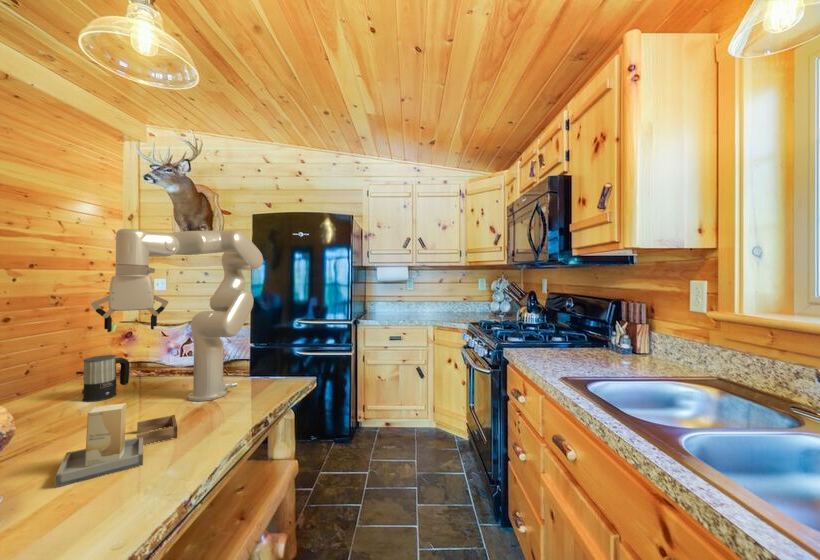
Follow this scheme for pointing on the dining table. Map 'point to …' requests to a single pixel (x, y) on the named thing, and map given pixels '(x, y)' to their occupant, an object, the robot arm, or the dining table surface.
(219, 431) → the dining table surface
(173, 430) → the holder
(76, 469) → the tray
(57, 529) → the dining table surface
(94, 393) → the milk frother
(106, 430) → the skincare box
